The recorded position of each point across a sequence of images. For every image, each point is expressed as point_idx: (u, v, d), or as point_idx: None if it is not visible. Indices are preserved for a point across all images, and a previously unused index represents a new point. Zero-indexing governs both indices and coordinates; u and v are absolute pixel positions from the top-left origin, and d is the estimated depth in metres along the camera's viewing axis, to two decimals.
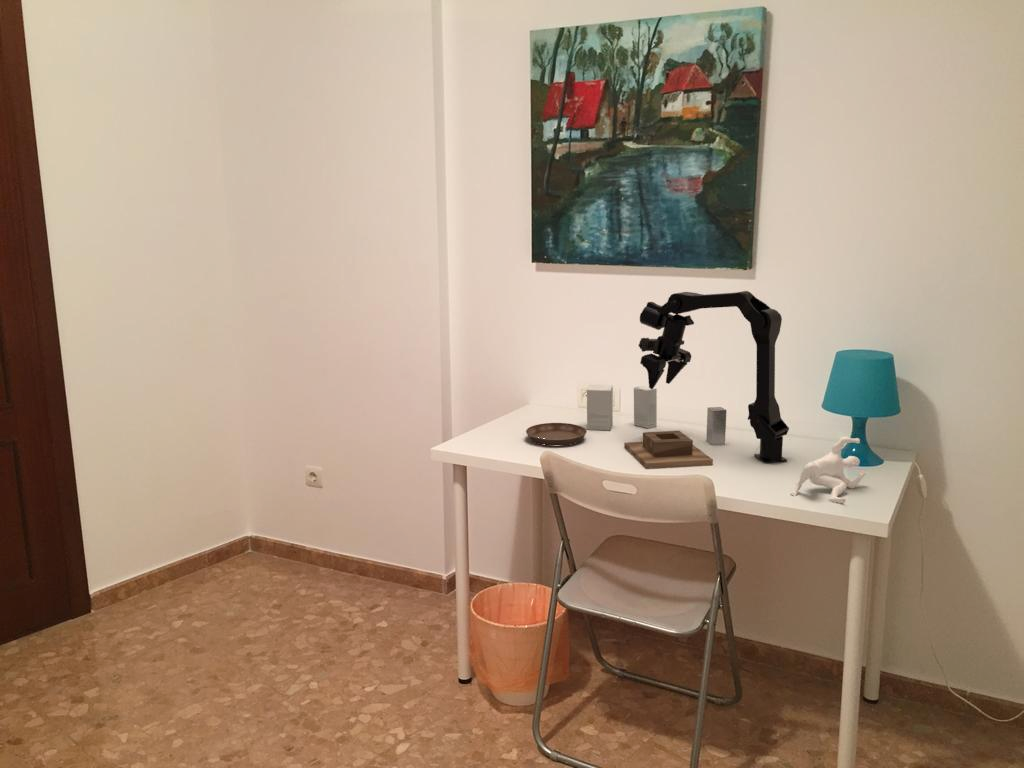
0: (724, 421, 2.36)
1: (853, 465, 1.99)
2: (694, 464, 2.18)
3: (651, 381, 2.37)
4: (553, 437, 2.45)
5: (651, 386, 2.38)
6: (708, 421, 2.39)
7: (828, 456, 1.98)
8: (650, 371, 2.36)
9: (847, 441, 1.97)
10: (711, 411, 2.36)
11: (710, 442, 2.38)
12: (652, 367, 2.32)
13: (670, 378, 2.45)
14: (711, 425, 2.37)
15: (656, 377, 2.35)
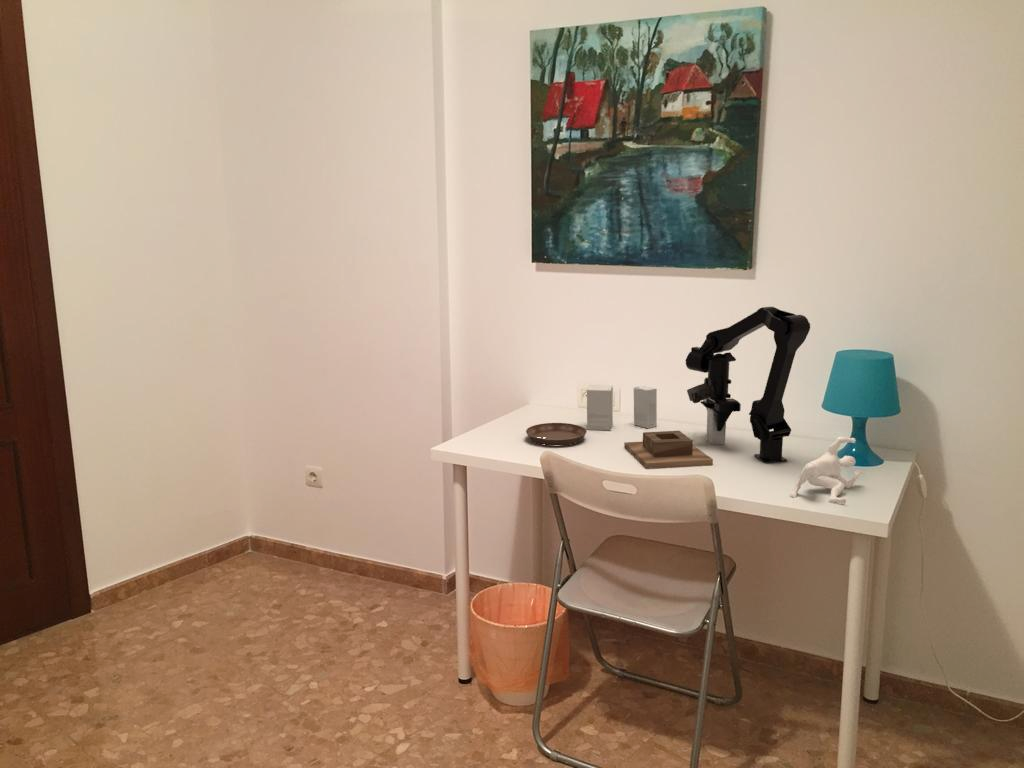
0: None
1: (849, 465, 1.99)
2: (694, 464, 2.18)
3: (720, 423, 2.35)
4: (553, 437, 2.45)
5: (720, 428, 2.36)
6: (708, 421, 2.39)
7: (825, 456, 1.98)
8: (719, 414, 2.34)
9: (844, 441, 1.97)
10: (711, 411, 2.36)
11: (710, 442, 2.38)
12: (735, 409, 2.28)
13: None
14: (711, 425, 2.37)
15: (727, 417, 2.34)
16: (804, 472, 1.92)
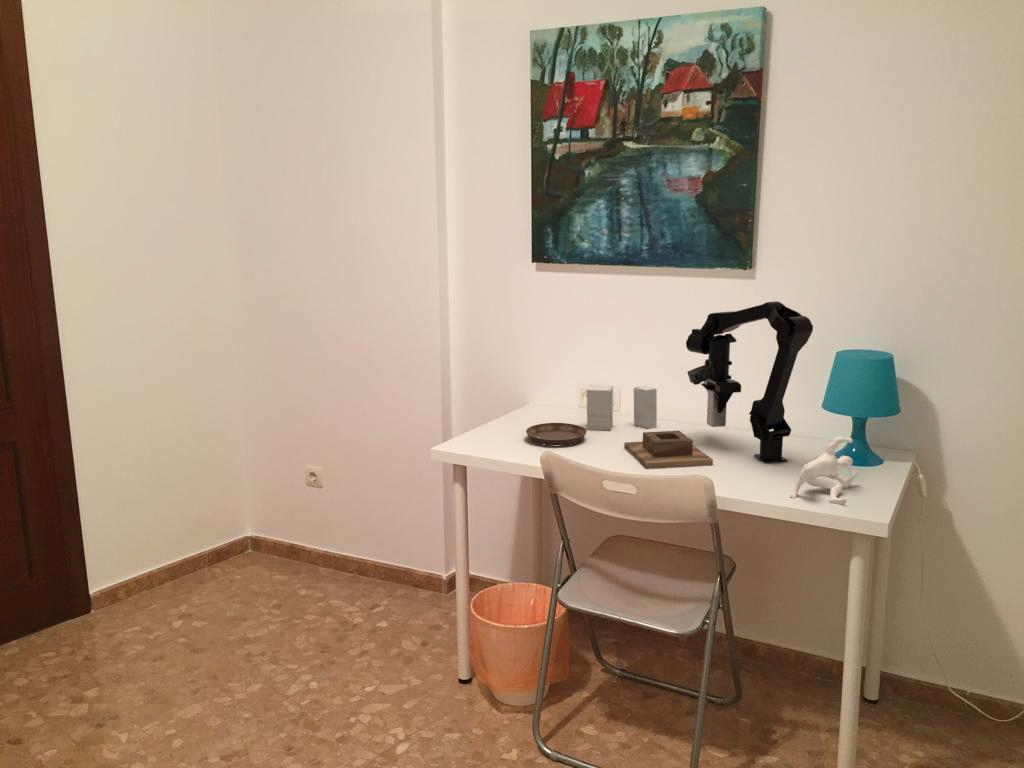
0: None
1: (847, 465, 1.99)
2: (694, 464, 2.18)
3: (721, 405, 2.34)
4: (553, 437, 2.45)
5: (721, 410, 2.35)
6: (709, 403, 2.38)
7: (823, 457, 1.97)
8: (720, 395, 2.33)
9: (841, 441, 1.97)
10: (712, 393, 2.35)
11: (710, 424, 2.37)
12: (735, 391, 2.27)
13: None
14: (712, 407, 2.36)
15: (727, 398, 2.33)
16: (804, 473, 1.91)
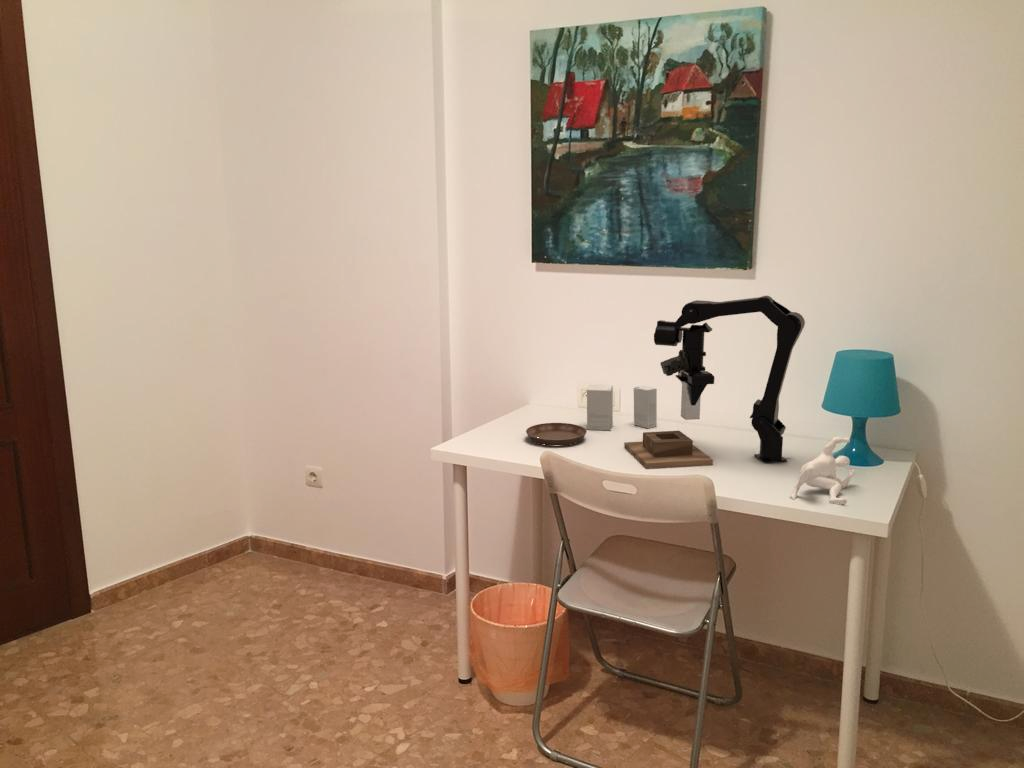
0: None
1: (844, 465, 1.99)
2: (694, 464, 2.18)
3: (695, 397, 2.27)
4: (553, 437, 2.45)
5: (694, 402, 2.27)
6: (682, 395, 2.30)
7: (821, 457, 1.97)
8: (693, 387, 2.25)
9: (839, 441, 1.97)
10: (685, 384, 2.28)
11: (684, 417, 2.29)
12: (708, 382, 2.20)
13: None
14: (685, 399, 2.28)
15: (701, 390, 2.26)
16: (804, 474, 1.91)
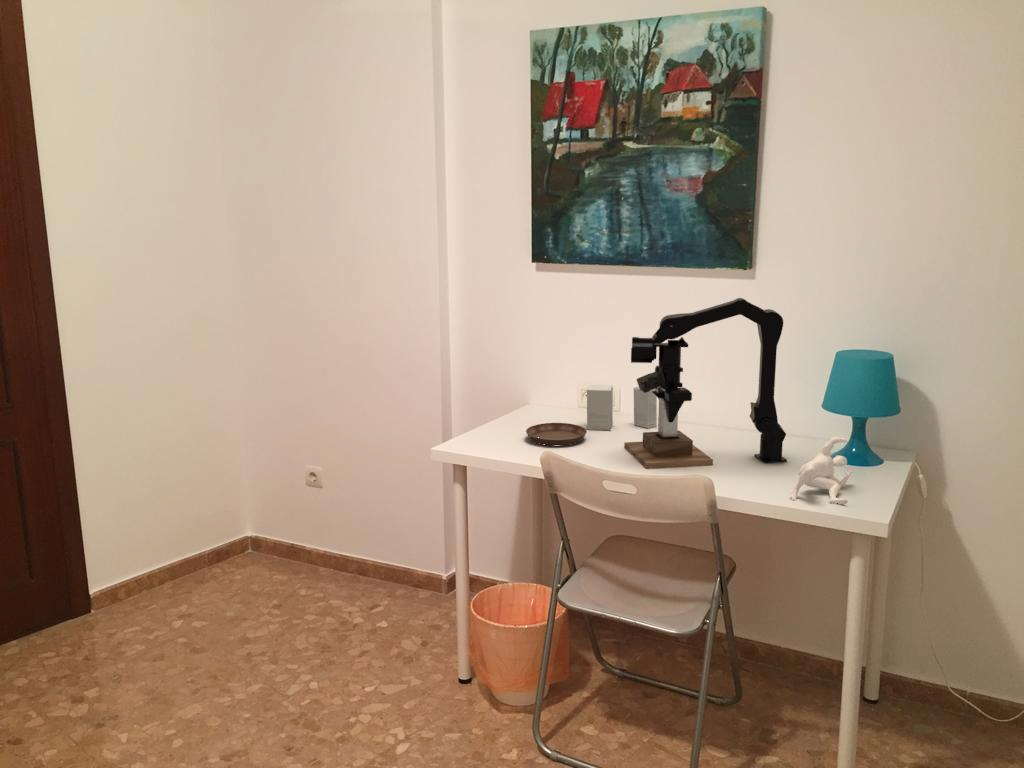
0: None
1: (842, 465, 1.99)
2: (694, 464, 2.18)
3: (672, 414, 2.21)
4: (553, 437, 2.45)
5: (672, 419, 2.22)
6: (659, 412, 2.25)
7: (820, 457, 1.97)
8: (670, 404, 2.20)
9: (837, 441, 1.97)
10: (662, 401, 2.23)
11: (661, 434, 2.24)
12: (686, 399, 2.15)
13: None
14: (662, 416, 2.23)
15: (678, 407, 2.21)
16: (804, 474, 1.90)
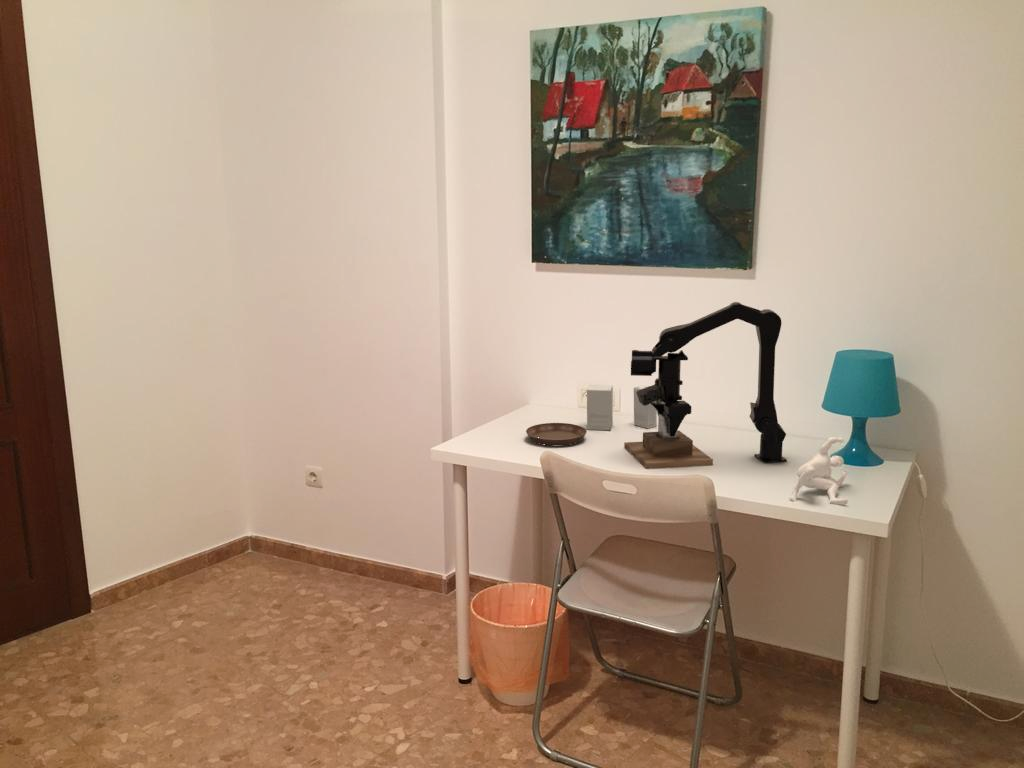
0: None
1: (839, 465, 1.99)
2: (694, 464, 2.18)
3: (673, 428, 2.21)
4: (553, 437, 2.45)
5: (673, 433, 2.22)
6: (659, 428, 2.26)
7: (818, 458, 1.97)
8: (671, 418, 2.20)
9: (834, 441, 1.97)
10: (662, 417, 2.23)
11: None
12: (685, 412, 2.15)
13: None
14: (662, 432, 2.24)
15: (680, 421, 2.20)
16: (805, 475, 1.90)
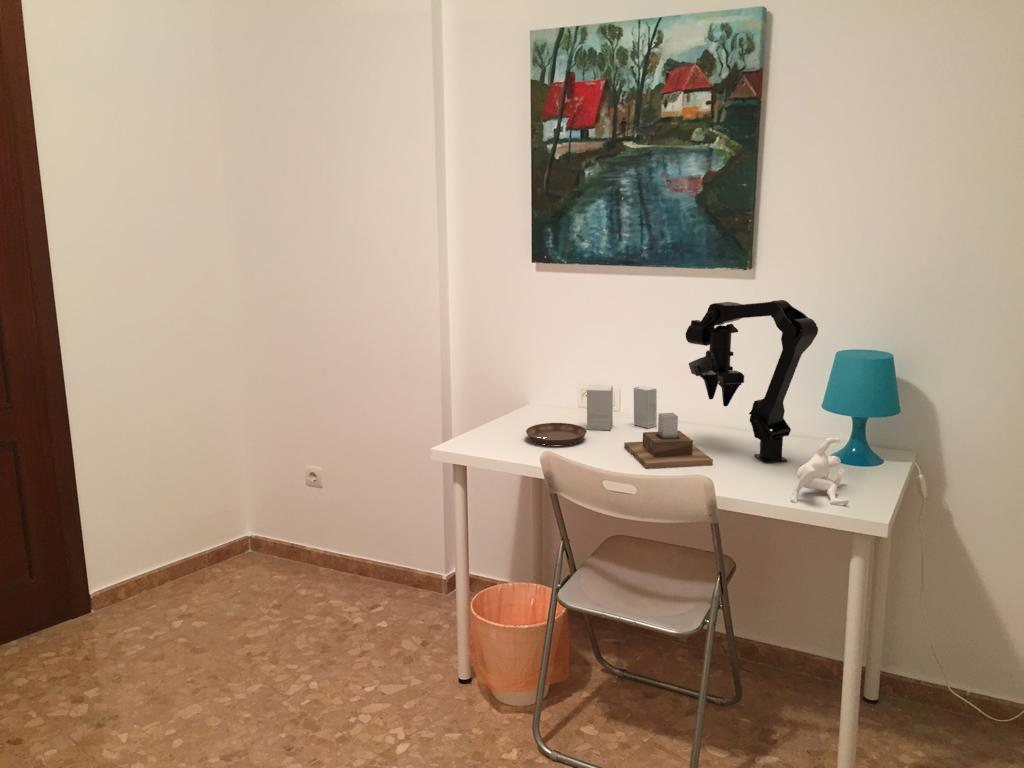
0: (675, 428, 2.24)
1: (836, 465, 1.99)
2: (694, 464, 2.18)
3: (727, 398, 2.29)
4: (553, 437, 2.45)
5: (727, 403, 2.30)
6: (659, 428, 2.26)
7: (816, 458, 1.96)
8: (726, 388, 2.28)
9: (832, 442, 1.97)
10: (662, 417, 2.23)
11: None
12: (739, 381, 2.25)
13: (713, 393, 2.39)
14: (662, 432, 2.24)
15: (734, 391, 2.29)
16: (806, 476, 1.89)
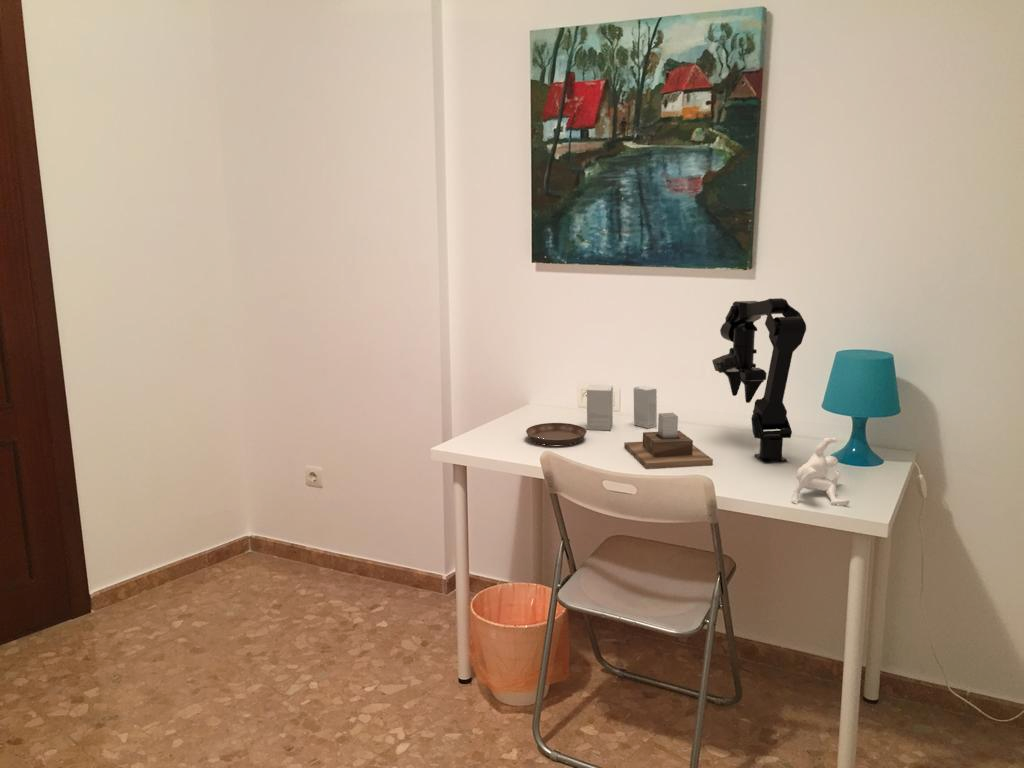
0: (675, 428, 2.24)
1: (834, 465, 1.99)
2: (694, 464, 2.18)
3: (749, 395, 2.34)
4: (553, 437, 2.45)
5: (749, 400, 2.35)
6: (659, 428, 2.26)
7: (815, 459, 1.96)
8: (748, 385, 2.33)
9: (830, 442, 1.97)
10: (662, 417, 2.23)
11: None
12: (761, 378, 2.30)
13: (736, 389, 2.44)
14: (662, 432, 2.24)
15: (756, 388, 2.33)
16: (807, 477, 1.88)
